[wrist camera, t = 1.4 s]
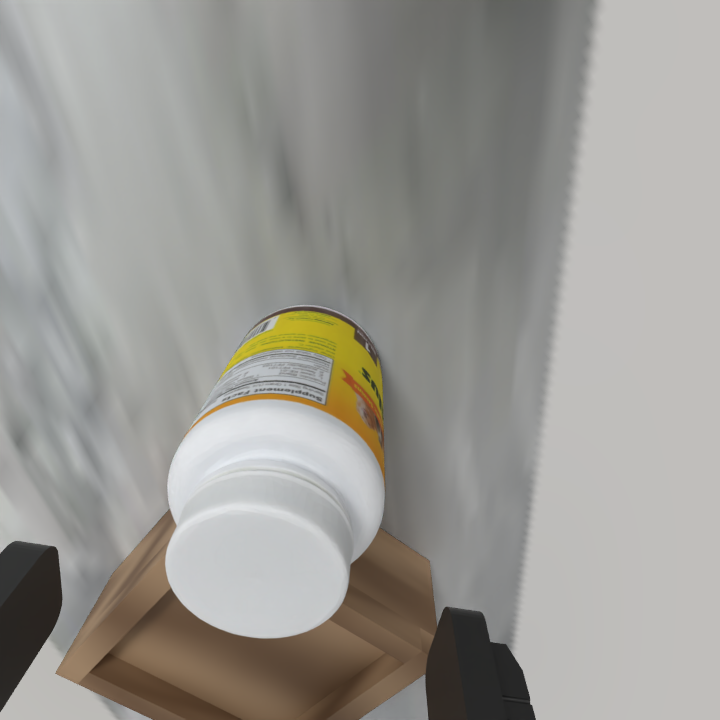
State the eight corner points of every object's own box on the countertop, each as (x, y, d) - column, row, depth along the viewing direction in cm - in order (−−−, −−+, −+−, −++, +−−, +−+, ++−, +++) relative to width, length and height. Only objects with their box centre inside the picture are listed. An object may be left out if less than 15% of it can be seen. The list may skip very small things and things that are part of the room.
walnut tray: (236, 432, 22) (199, 517, 17) (429, 561, 24) (441, 663, 20) (112, 573, 25) (55, 673, 21) (291, 670, 28) (274, 776, 24)
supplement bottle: (374, 432, 21) (372, 675, 12) (240, 419, 21) (136, 654, 12) (391, 305, 19) (403, 489, 10) (240, 290, 19) (108, 460, 10)
